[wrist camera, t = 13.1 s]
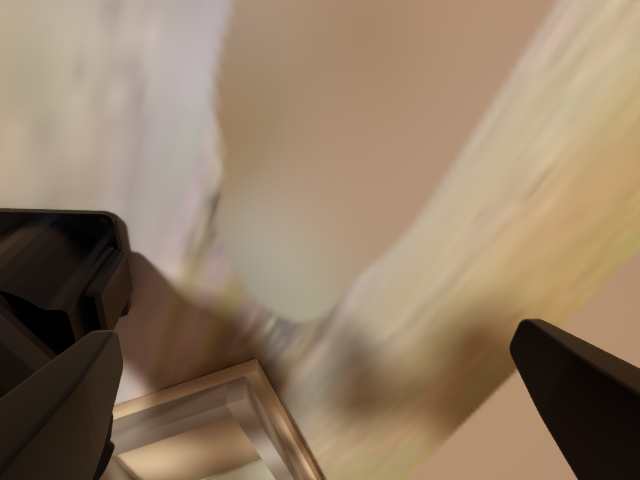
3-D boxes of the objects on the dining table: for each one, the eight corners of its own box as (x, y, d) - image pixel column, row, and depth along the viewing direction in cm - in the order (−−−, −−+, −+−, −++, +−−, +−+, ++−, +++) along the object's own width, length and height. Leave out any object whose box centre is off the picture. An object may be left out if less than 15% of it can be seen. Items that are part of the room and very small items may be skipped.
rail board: (63, 423, 25) (41, 466, 23) (256, 358, 25) (256, 394, 23) (178, 531, 34) (172, 572, 31) (323, 482, 34) (329, 519, 31)
